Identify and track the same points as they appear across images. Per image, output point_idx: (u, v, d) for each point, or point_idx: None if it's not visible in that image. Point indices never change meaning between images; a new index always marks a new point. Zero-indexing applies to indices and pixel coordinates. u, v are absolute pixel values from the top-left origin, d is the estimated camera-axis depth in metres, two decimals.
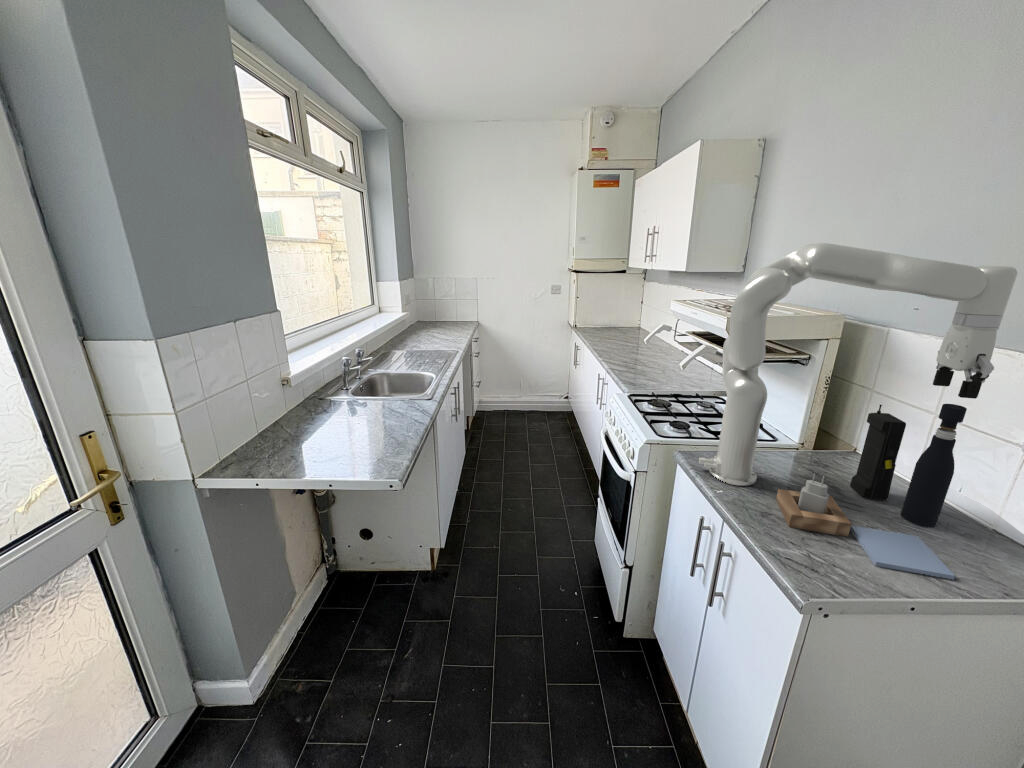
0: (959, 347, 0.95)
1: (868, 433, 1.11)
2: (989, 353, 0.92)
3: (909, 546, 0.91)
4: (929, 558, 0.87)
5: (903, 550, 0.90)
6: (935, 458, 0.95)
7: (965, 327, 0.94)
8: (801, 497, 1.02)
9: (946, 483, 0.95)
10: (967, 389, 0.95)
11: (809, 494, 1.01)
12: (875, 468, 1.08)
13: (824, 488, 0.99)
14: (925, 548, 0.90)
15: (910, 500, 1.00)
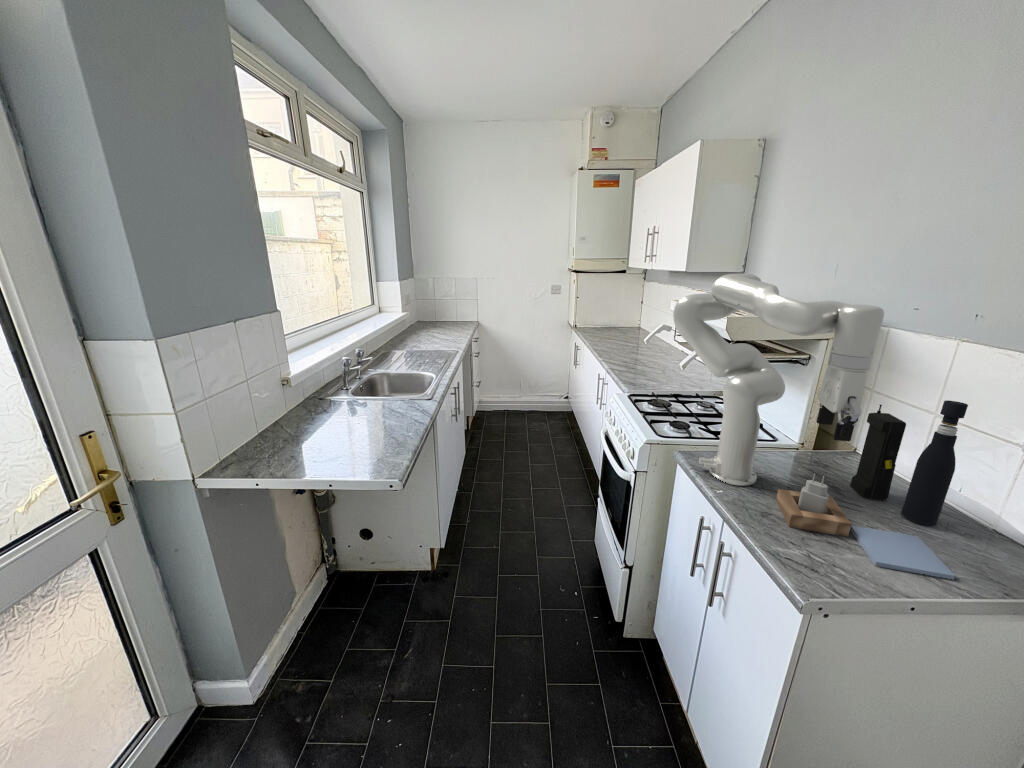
0: (833, 388, 0.92)
1: (868, 433, 1.11)
2: (859, 396, 0.89)
3: (909, 546, 0.91)
4: (929, 558, 0.87)
5: (903, 550, 0.90)
6: (936, 454, 0.96)
7: (837, 368, 0.90)
8: (801, 497, 1.02)
9: (947, 479, 0.96)
10: (840, 432, 0.91)
11: (809, 494, 1.01)
12: (875, 468, 1.08)
13: (824, 488, 0.99)
14: (925, 548, 0.90)
15: (911, 497, 1.01)
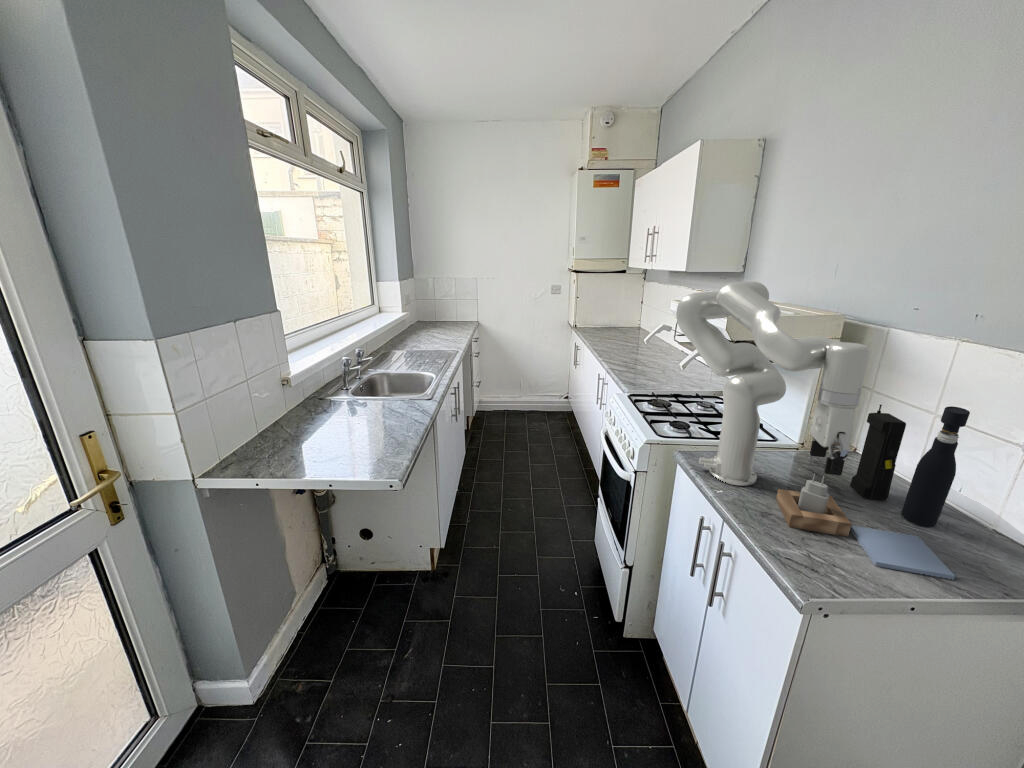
0: (823, 423, 0.94)
1: (868, 433, 1.11)
2: (848, 431, 0.91)
3: (909, 546, 0.91)
4: (929, 558, 0.87)
5: (903, 550, 0.90)
6: (936, 461, 0.94)
7: (826, 403, 0.93)
8: (801, 497, 1.02)
9: (947, 485, 0.94)
10: (830, 466, 0.93)
11: (809, 494, 1.01)
12: (875, 468, 1.08)
13: (824, 488, 0.99)
14: (925, 548, 0.90)
15: (910, 500, 1.00)
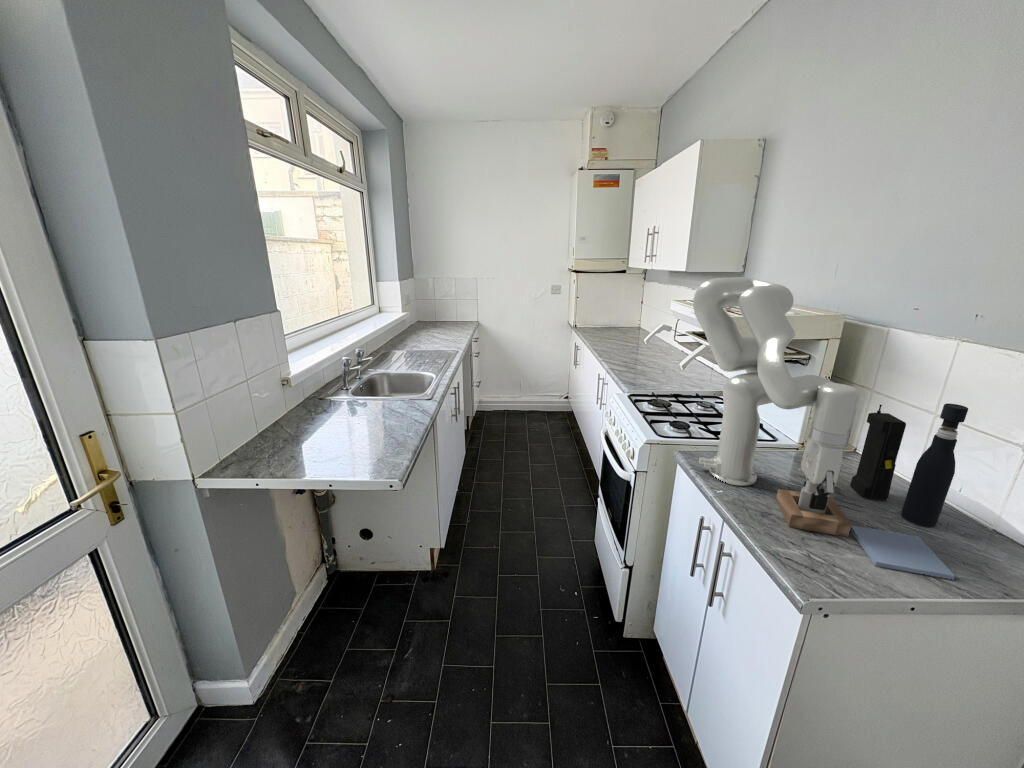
0: (813, 460, 0.97)
1: (868, 433, 1.11)
2: (836, 470, 0.94)
3: (909, 546, 0.91)
4: (929, 558, 0.87)
5: (903, 550, 0.90)
6: (936, 458, 0.95)
7: (816, 442, 0.96)
8: (801, 497, 1.02)
9: (946, 482, 0.95)
10: (815, 501, 0.99)
11: (809, 494, 1.01)
12: (875, 468, 1.08)
13: None
14: (925, 548, 0.90)
15: (910, 499, 1.00)
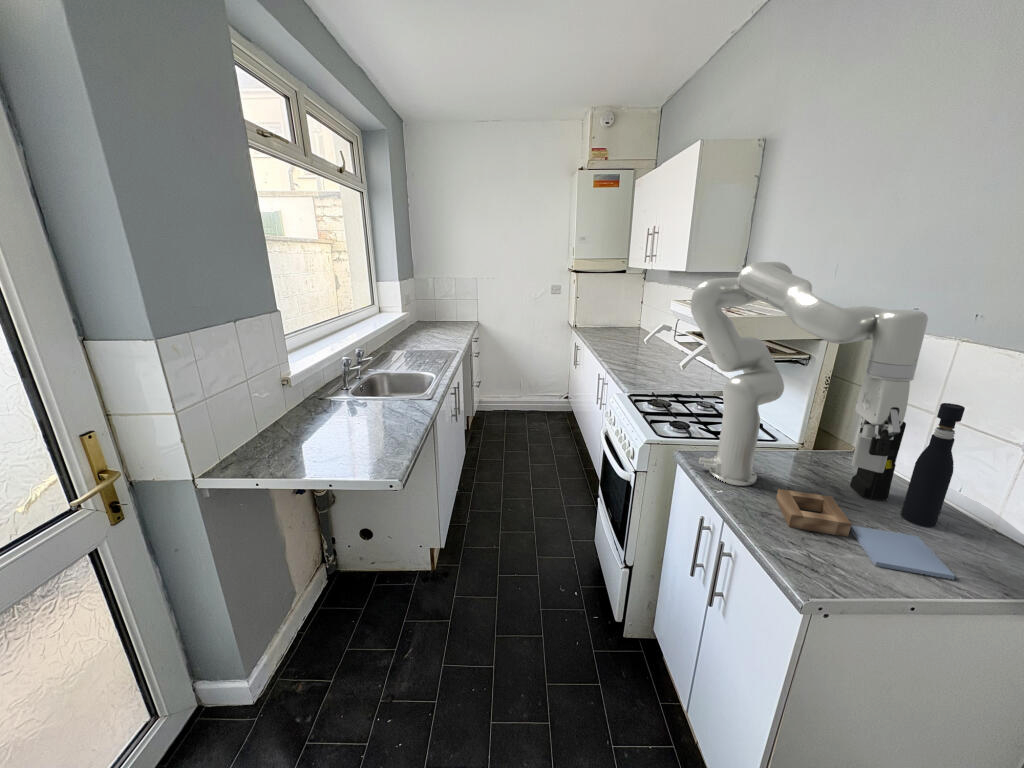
0: (873, 398, 0.86)
1: None
2: (902, 407, 0.83)
3: (909, 546, 0.91)
4: (929, 558, 0.87)
5: (903, 550, 0.90)
6: (933, 457, 0.96)
7: (877, 377, 0.85)
8: (858, 444, 0.91)
9: (945, 482, 0.95)
10: (876, 446, 0.87)
11: (868, 439, 0.90)
12: None
13: None
14: (925, 548, 0.90)
15: (909, 499, 1.00)
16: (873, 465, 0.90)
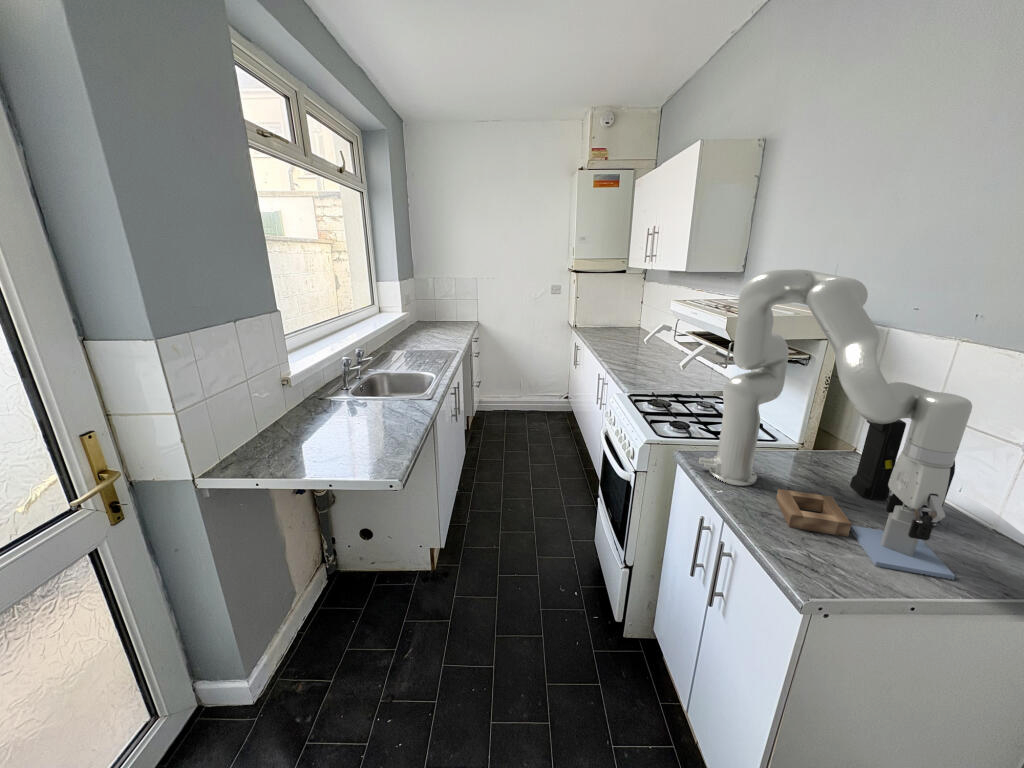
0: (910, 481, 0.84)
1: (868, 433, 1.11)
2: (941, 494, 0.81)
3: None
4: (929, 558, 0.87)
5: None
6: None
7: (915, 460, 0.83)
8: (889, 525, 0.90)
9: None
10: (917, 530, 0.84)
11: (899, 522, 0.88)
12: (875, 468, 1.08)
13: None
14: (925, 548, 0.90)
15: None
16: (904, 548, 0.88)
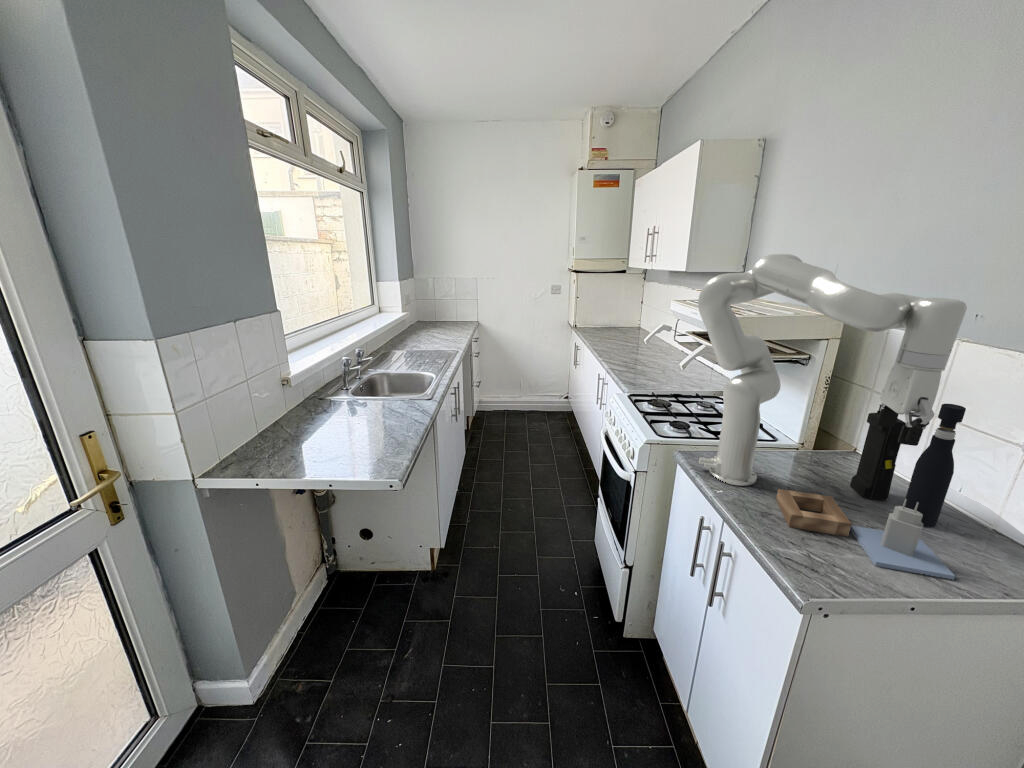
0: (901, 387, 0.85)
1: (868, 433, 1.11)
2: (931, 397, 0.82)
3: None
4: (929, 558, 0.87)
5: None
6: (934, 458, 0.95)
7: (908, 366, 0.83)
8: (889, 525, 0.90)
9: (945, 483, 0.95)
10: (906, 435, 0.85)
11: (899, 522, 0.88)
12: (875, 468, 1.08)
13: (918, 516, 0.86)
14: (925, 548, 0.90)
15: (909, 499, 1.00)
16: (904, 548, 0.88)
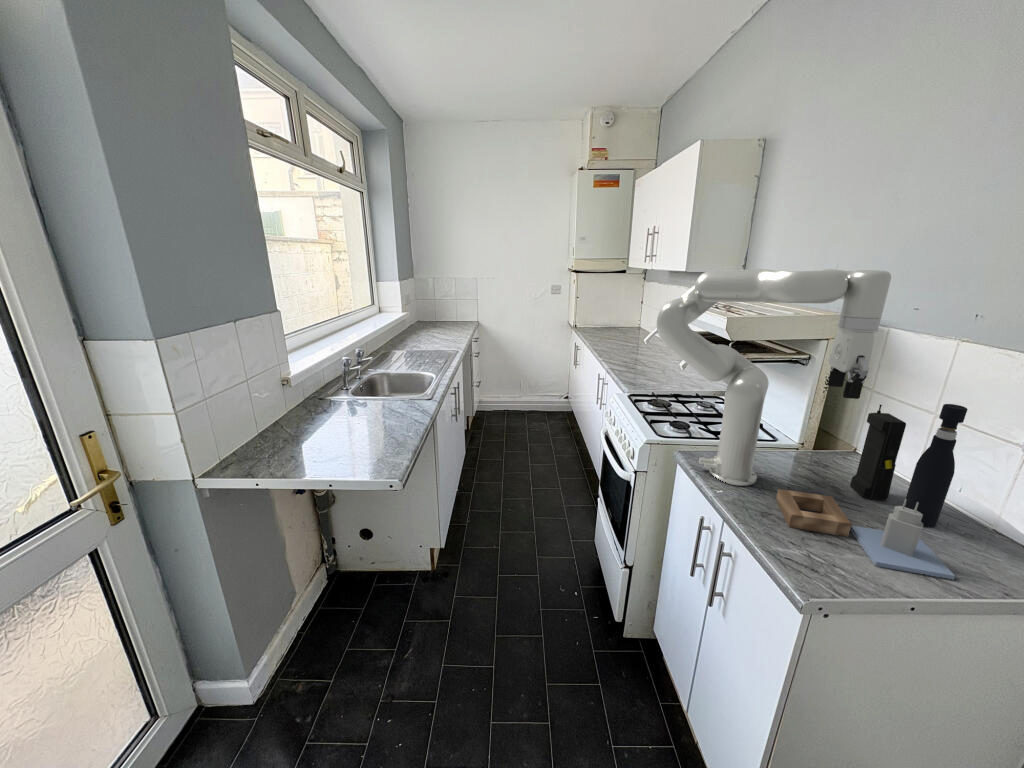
0: (843, 349, 0.98)
1: (868, 433, 1.11)
2: (867, 355, 0.95)
3: None
4: (929, 558, 0.87)
5: None
6: (935, 458, 0.95)
7: (847, 329, 0.97)
8: (889, 525, 0.90)
9: (946, 483, 0.95)
10: (849, 390, 0.97)
11: (899, 522, 0.88)
12: (875, 468, 1.08)
13: (918, 516, 0.86)
14: (925, 548, 0.90)
15: (910, 499, 1.00)
16: (904, 548, 0.88)
